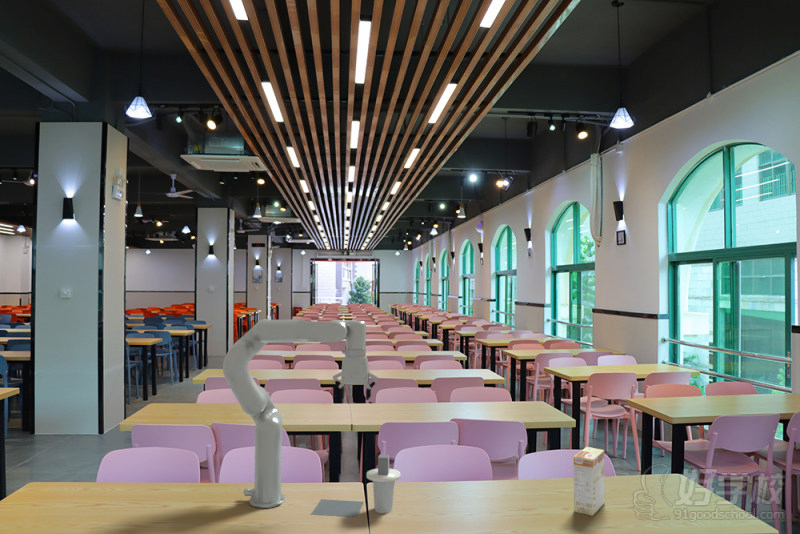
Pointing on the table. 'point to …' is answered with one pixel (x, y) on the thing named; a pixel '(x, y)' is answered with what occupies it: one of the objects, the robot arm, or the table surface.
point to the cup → (383, 496)
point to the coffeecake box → (589, 481)
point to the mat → (338, 508)
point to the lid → (383, 471)
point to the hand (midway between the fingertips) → (355, 398)
